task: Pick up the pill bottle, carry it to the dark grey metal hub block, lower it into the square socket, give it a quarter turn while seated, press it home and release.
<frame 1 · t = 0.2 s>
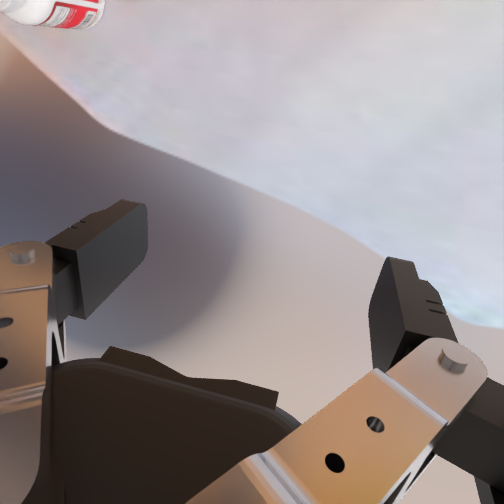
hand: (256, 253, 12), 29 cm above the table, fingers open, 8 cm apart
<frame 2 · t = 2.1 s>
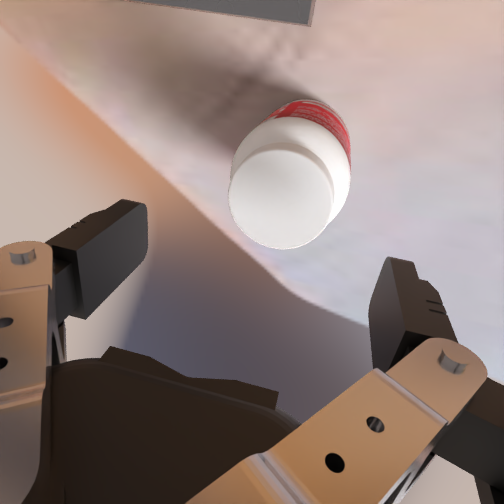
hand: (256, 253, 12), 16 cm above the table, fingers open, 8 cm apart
pill bottle: (304, 145, 26), on the table
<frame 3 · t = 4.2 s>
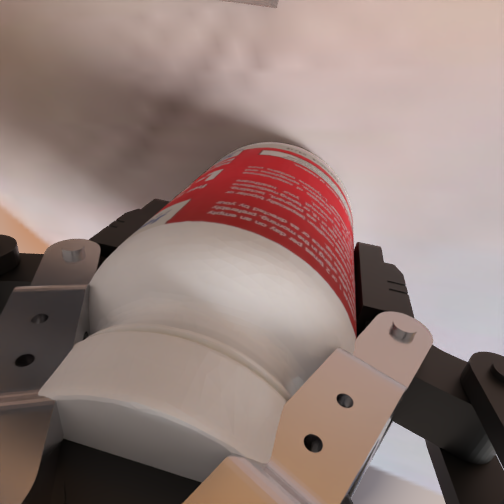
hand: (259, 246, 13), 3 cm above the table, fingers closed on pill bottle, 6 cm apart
pill bottle: (274, 215, 15), on the table, touching gripper
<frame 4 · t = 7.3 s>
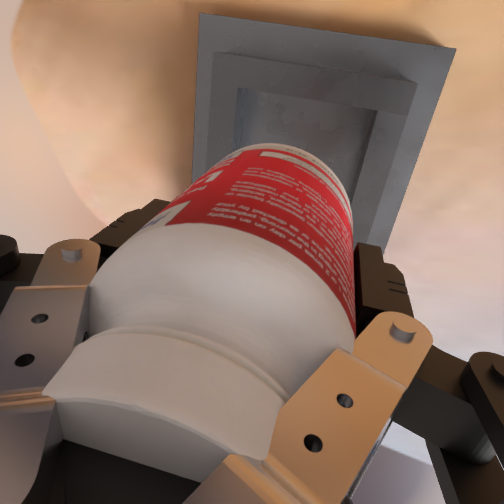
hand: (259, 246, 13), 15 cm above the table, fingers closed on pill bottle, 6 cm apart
hub block: (301, 150, 25), on the table
pill bottle: (274, 215, 15), point 12 cm above the table, touching gripper
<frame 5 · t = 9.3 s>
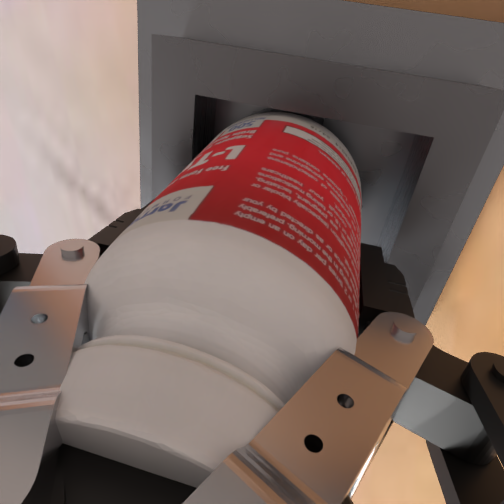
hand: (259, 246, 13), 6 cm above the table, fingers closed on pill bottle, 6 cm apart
hub block: (300, 185, 17), on the table
pill bottle: (280, 187, 14), point 3 cm above the table, touching gripper
when the fingers open (5 cm above the table, at t = 10.7 s): pill bottle stays where it is, resting on hub block.
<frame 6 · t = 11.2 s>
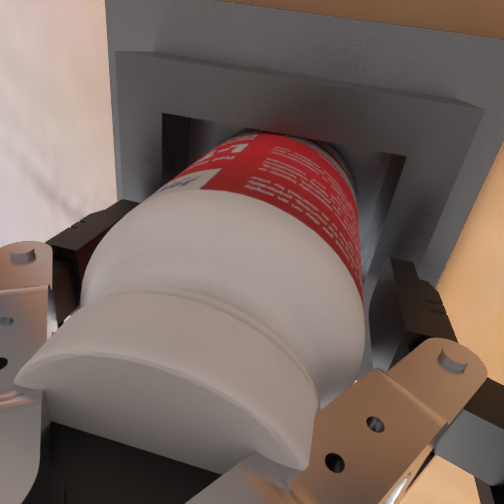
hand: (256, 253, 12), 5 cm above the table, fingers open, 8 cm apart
hub block: (281, 198, 17), on the table
pill bottle: (277, 200, 15), point 2 cm above the table, touching hub block
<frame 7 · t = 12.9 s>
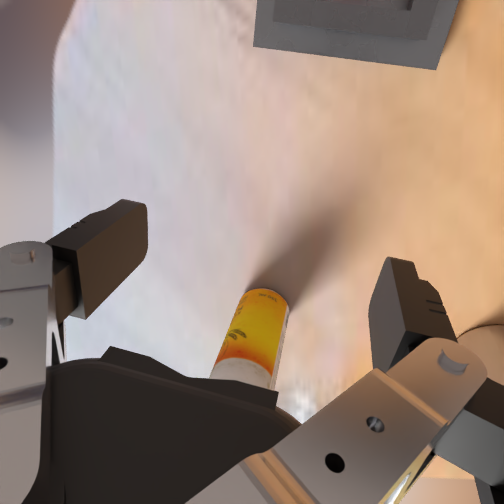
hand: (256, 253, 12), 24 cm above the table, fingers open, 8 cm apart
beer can: (265, 304, 44), on the table
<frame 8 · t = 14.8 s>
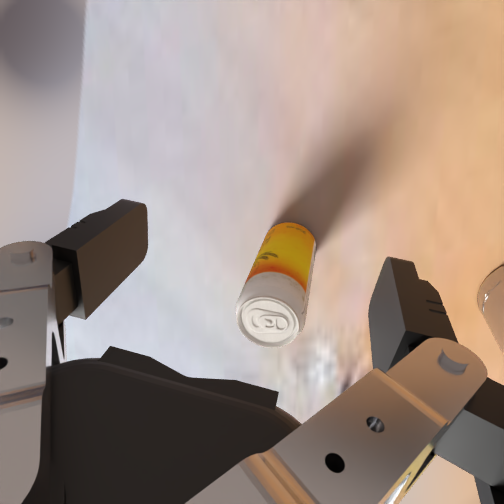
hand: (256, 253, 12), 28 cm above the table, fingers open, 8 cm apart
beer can: (290, 242, 43), on the table
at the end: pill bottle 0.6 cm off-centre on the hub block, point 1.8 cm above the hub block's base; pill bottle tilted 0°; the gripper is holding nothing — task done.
